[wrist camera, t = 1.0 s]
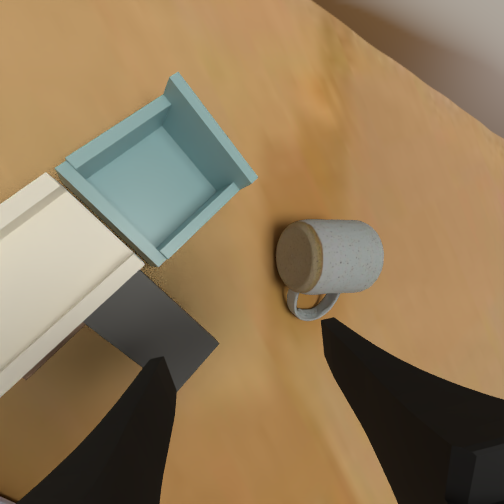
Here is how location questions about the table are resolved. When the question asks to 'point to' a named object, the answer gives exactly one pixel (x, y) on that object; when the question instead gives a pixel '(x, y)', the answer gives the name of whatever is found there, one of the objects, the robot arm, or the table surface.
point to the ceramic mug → (327, 261)
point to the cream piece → (81, 289)
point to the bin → (158, 173)
